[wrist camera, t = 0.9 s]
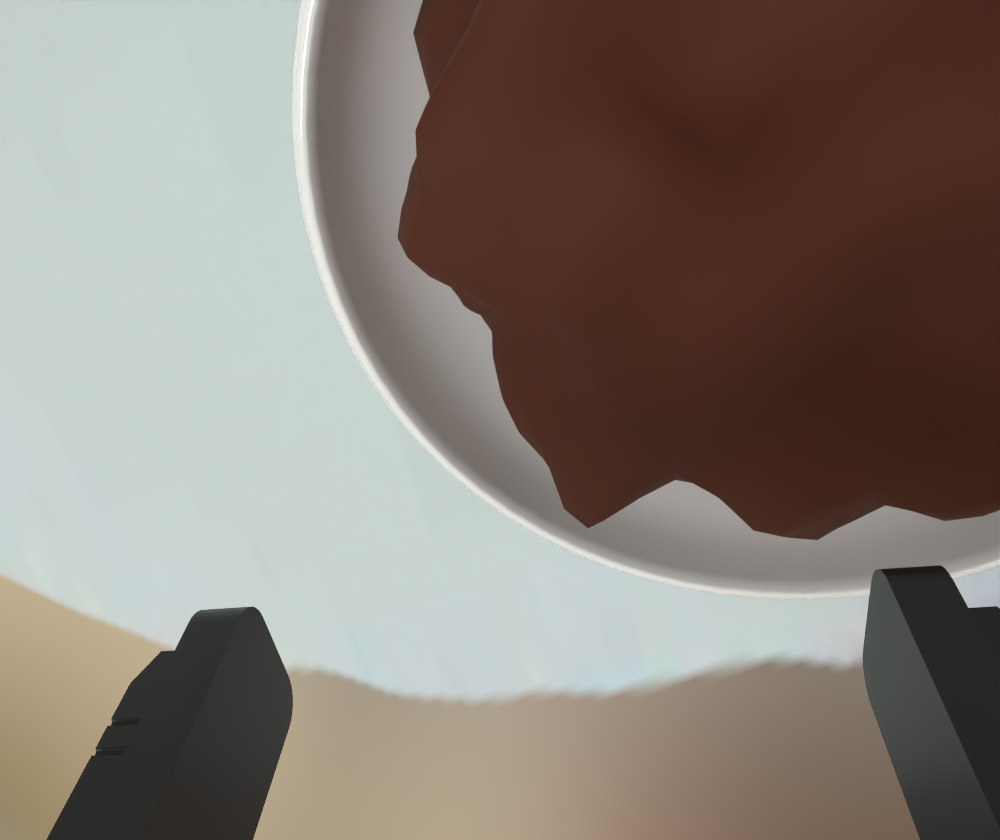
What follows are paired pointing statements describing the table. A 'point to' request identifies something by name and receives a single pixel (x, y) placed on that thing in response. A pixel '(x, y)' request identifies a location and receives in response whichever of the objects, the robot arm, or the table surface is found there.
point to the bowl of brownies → (676, 270)
